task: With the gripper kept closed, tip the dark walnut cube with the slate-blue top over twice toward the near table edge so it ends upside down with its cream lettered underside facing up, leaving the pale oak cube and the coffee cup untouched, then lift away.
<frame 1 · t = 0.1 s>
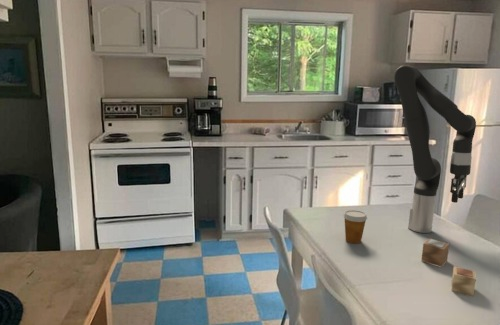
hand: (457, 200, 160), 17 cm above the table, tool pointing down, fingers open, 8 cm apart
disposable coffee cup: (353, 240, 158), on the table
walnut block: (434, 261, 140), on the table
oak block: (461, 289, 121), on the table
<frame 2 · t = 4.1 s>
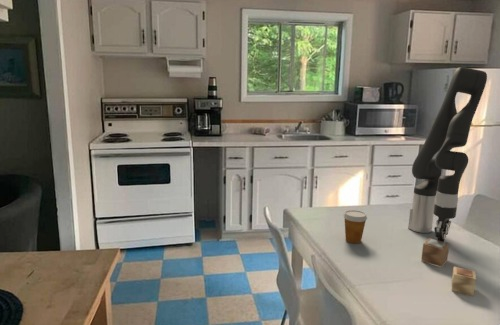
hand: (440, 246, 143), 4 cm above the table, tool pointing down, fingers closed
walnut block: (434, 260, 140), on the table, touching gripper
everything else where it was.
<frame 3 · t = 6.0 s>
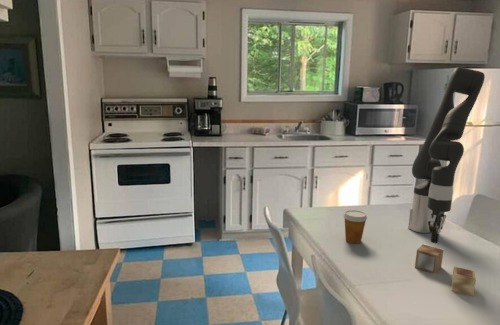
hand: (434, 242, 136), 9 cm above the table, tool pointing down, fingers closed
walnut block: (432, 255, 137), point 3 cm above the table, tilted 90°
everything else where it was.
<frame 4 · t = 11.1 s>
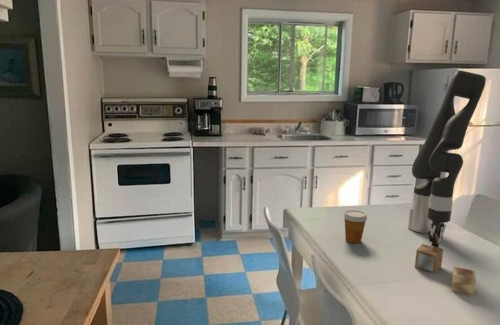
hand: (434, 251, 138), 4 cm above the table, tool pointing down, fingers closed
walnut block: (432, 254, 137), point 4 cm above the table, tilted 92°, touching gripper
everything else where it was.
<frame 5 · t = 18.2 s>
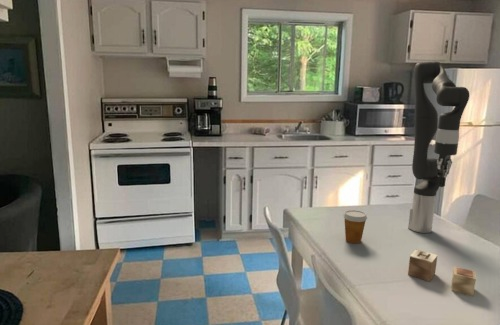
hand: (441, 186, 143), 27 cm above the table, tool pointing down, fingers closed
walnut block: (423, 255, 128), point 7 cm above the table, tilted 180°
everything else where it was.
at the end: walnut block tilted 180°; walnut block inside the target area (2.3 cm from its centre), point 7.1 cm above the table; oak block moved 0.1 cm from its start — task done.
